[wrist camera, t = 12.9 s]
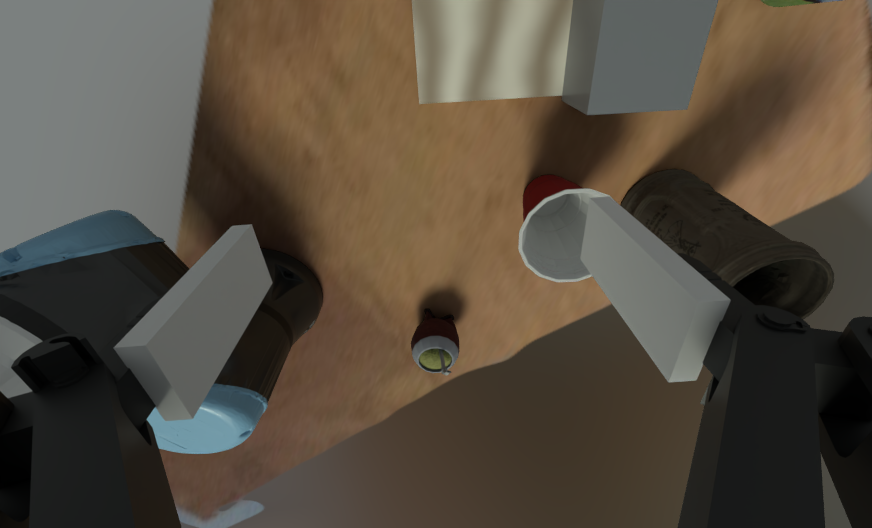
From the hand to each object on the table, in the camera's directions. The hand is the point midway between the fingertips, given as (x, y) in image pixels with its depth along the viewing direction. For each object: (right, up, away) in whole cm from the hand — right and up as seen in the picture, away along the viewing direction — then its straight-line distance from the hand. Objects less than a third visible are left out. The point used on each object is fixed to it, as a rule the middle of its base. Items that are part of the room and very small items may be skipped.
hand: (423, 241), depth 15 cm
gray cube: (+18, +21, +23) cm, 36 cm away
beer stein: (+30, +4, +36) cm, 47 cm away
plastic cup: (+14, +8, +33) cm, 37 cm away
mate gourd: (0, -10, +44) cm, 45 cm away
